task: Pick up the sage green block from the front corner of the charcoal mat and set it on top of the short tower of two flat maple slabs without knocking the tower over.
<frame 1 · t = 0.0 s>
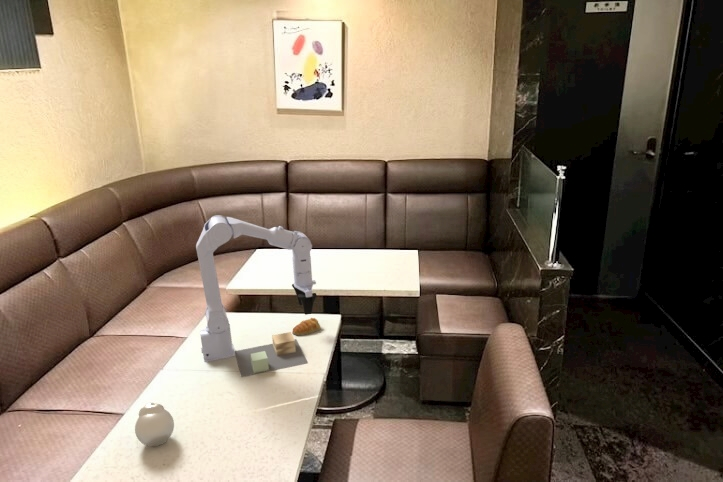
hand: (305, 308, 176), 10 cm above the table, tool pointing down, fingers open, 7 cm apart
tower base slab: (284, 349, 171), resting on mat, touching tower top slab
pastry: (307, 331, 183), on the table
tower top slab: (283, 343, 170), point 2 cm above the table, touching tower base slab
mat: (270, 358, 167), on the table
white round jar: (157, 441, 132), on the table
green block: (260, 367, 161), resting on mat
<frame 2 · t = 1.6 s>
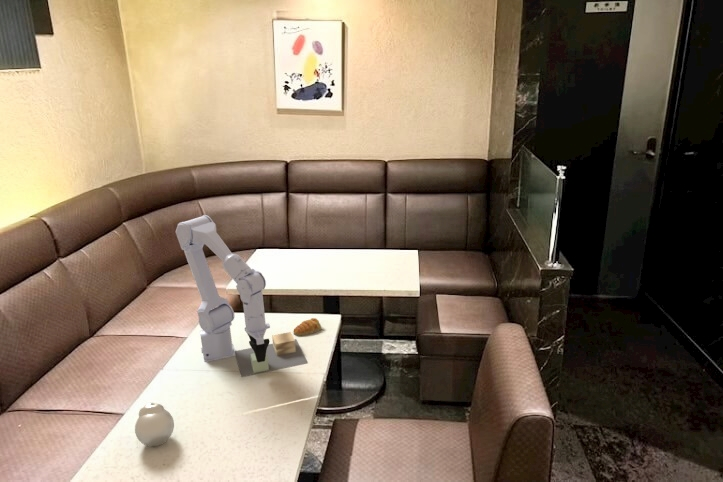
hand: (259, 355, 160), 5 cm above the table, tool pointing down, fingers open, 7 cm apart
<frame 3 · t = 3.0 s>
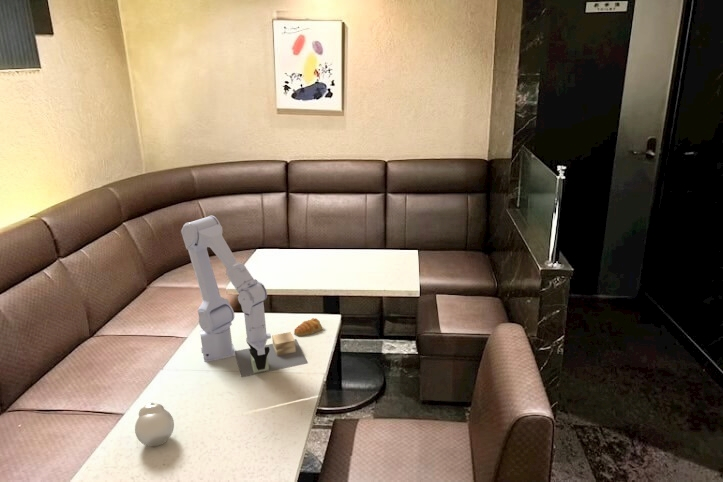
hand: (259, 364, 161), 1 cm above the table, tool pointing down, fingers closed on green block, 4 cm apart
green block: (260, 367, 161), resting on mat, touching gripper
everything else where it was.
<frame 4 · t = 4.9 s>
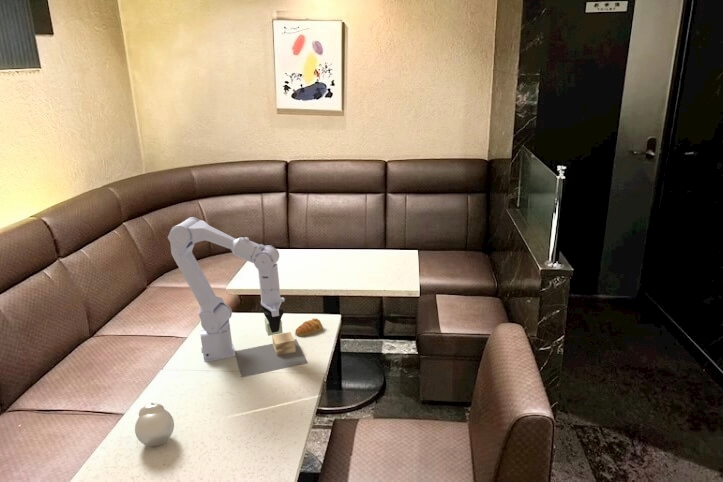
hand: (273, 328, 164), 10 cm above the table, tool pointing down, fingers closed on green block, 4 cm apart
green block: (274, 331, 165), point 9 cm above the table, touching gripper
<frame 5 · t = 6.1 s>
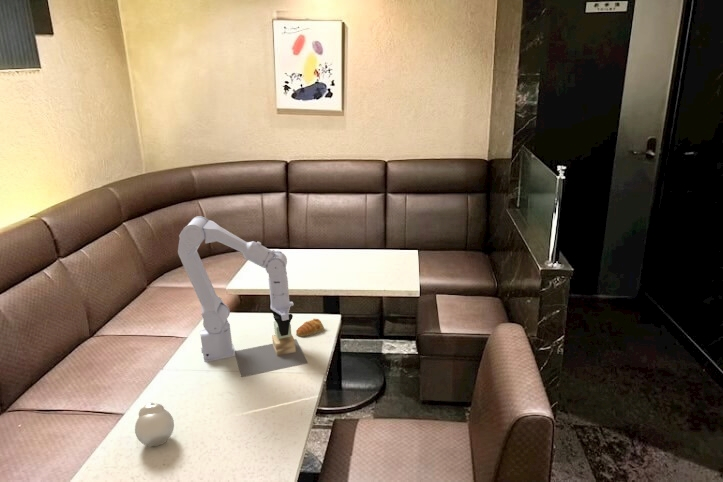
hand: (282, 331, 169), 7 cm above the table, tool pointing down, fingers closed on green block, 4 cm apart
green block: (283, 334, 169), point 6 cm above the table, touching gripper
when the fingers open (7 cm above the table, at t = 7.1 s): green block drops 1 cm, resting on tower top slab.
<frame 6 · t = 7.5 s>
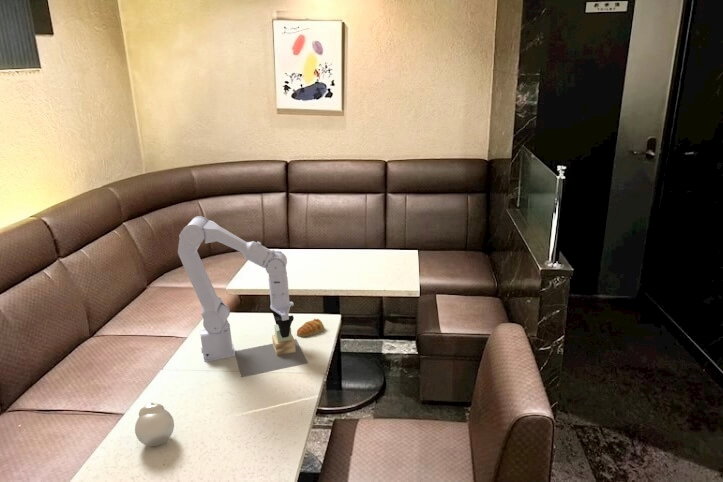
hand: (282, 331, 169), 7 cm above the table, tool pointing down, fingers open, 7 cm apart
tower top slab: (283, 343, 170), point 2 cm above the table, touching green block, tower base slab
green block: (283, 337, 170), point 4 cm above the table, touching tower top slab
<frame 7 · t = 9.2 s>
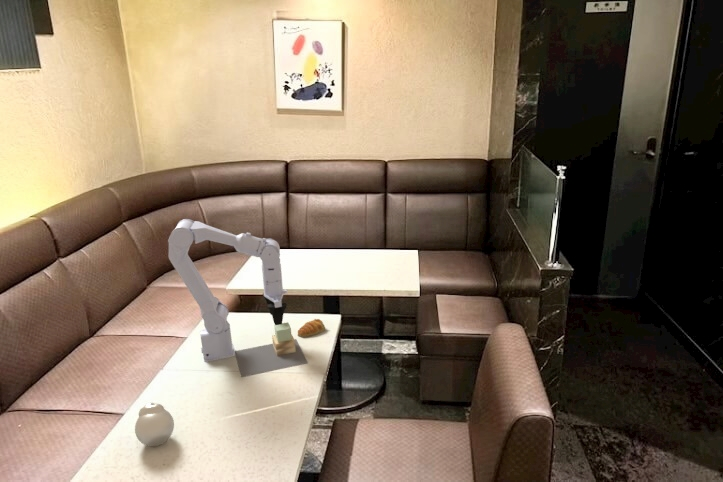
hand: (276, 319, 169), 10 cm above the table, tool pointing down, fingers open, 7 cm apart
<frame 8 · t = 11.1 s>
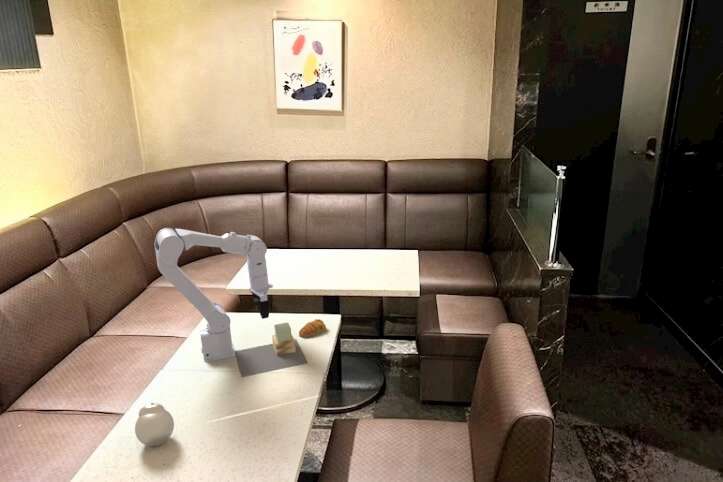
hand: (263, 312, 174), 10 cm above the table, tool pointing down, fingers open, 7 cm apart
at the end: green block 0.1 cm off-centre on the tower top slab, point 2.0 cm above the tower top slab's base; tower top slab moved 0.0 cm from its start; the gripper is holding nothing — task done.
